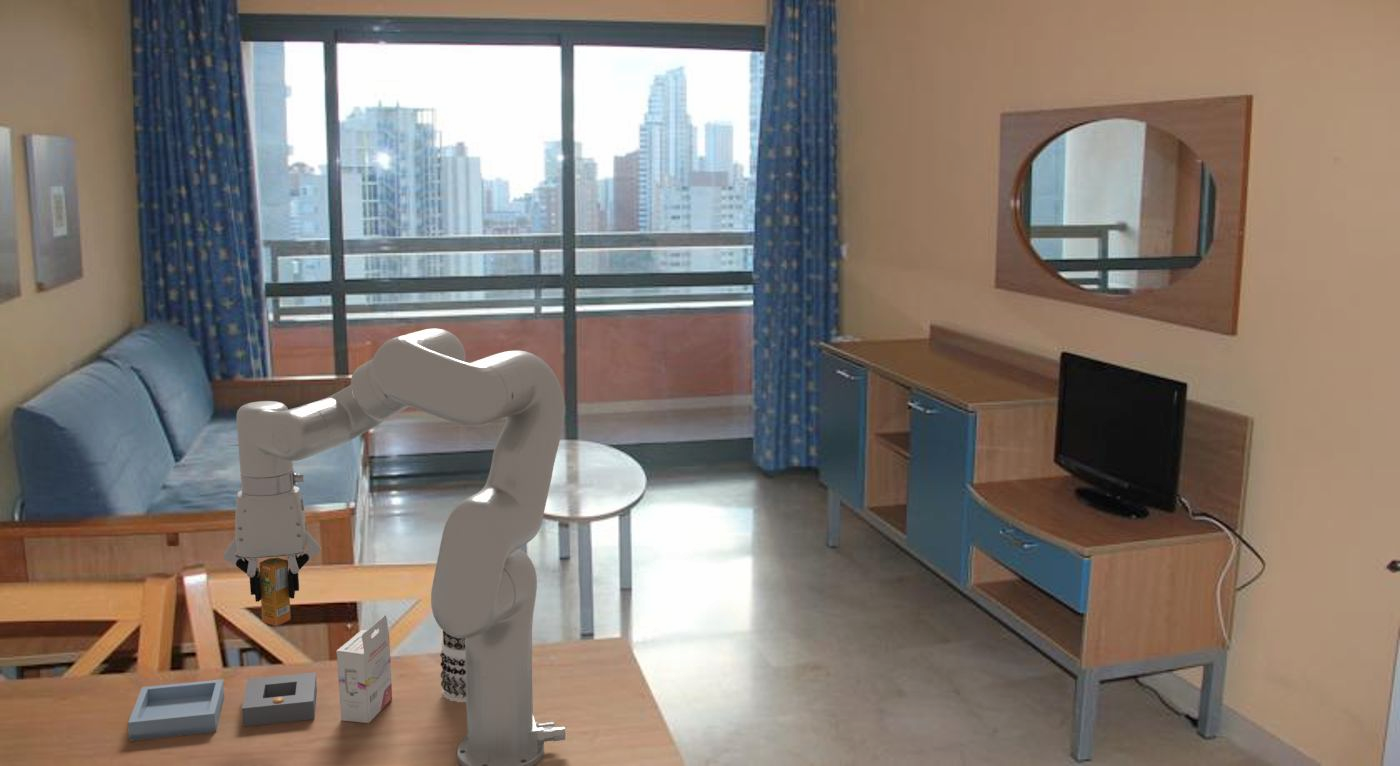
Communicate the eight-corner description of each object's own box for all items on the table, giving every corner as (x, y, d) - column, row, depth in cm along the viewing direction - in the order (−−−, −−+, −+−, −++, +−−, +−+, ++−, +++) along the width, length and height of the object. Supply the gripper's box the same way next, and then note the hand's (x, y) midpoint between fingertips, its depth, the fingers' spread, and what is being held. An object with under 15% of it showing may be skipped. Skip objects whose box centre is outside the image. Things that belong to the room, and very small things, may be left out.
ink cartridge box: (364, 696, 196) (360, 610, 193) (393, 699, 195) (389, 613, 192) (338, 721, 187) (334, 632, 184) (368, 724, 186) (364, 635, 183)
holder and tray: (317, 687, 198) (316, 669, 198) (314, 721, 187) (313, 702, 186) (143, 704, 192) (141, 685, 191) (129, 741, 180) (127, 721, 180)
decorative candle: (448, 676, 203) (444, 534, 198) (502, 680, 202) (500, 537, 197) (431, 701, 194) (426, 553, 189) (488, 705, 193) (484, 556, 188)
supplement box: (259, 622, 187) (257, 561, 186) (276, 615, 190) (274, 555, 189) (274, 627, 186) (273, 565, 184) (291, 620, 189) (290, 559, 187)
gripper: (326, 472, 189) (332, 583, 193) (211, 480, 185) (220, 593, 189) (324, 486, 182) (331, 600, 186) (205, 494, 178) (214, 611, 182)
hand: (275, 595), depth 187 cm, fingers closed on supplement box, 4 cm apart
